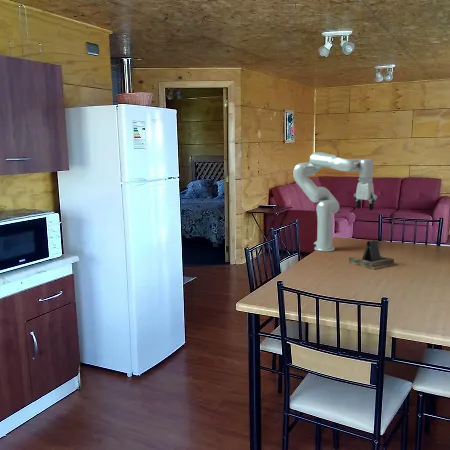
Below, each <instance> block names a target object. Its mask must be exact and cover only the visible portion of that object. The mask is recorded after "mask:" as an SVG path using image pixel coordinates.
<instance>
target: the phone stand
mask: <svg viewBox="0 0 450 450" xmlns="http://www.w3.org/2000/svg"><path fill="white" fill-rule="evenodd" d="M380 256H381V253H380V249H379V242H378V240H377V239H372V240H367V242H366V247H365V250H364V252H363V255H362V258H361V259H362V260H366V261H370V262H373V261H378V260H381V257H380Z"/></svg>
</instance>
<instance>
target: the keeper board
mask: <svg viewBox="0 0 450 450" xmlns="http://www.w3.org/2000/svg"><path fill="white" fill-rule="evenodd" d="M380 257H381V260H378V261H373V262H370V261H366V260H362V258H357V257H354V256H351V257H348V263H349V264H352V265H356V266H360V267H363V268H367V269H369V270H378V269H383V268H387V267H392V266H396V265H397V263H396V262H395V259H394V258H392V257H388V256H384V255H380Z"/></svg>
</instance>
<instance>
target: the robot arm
mask: <svg viewBox="0 0 450 450" xmlns="http://www.w3.org/2000/svg"><path fill="white" fill-rule="evenodd" d="M323 168H326V169H327V168H328V169H332V170H336V171H340V172H344V173H345V172H347V173H351V172H359V178H358V183H357V185H356V190H355V191H356V192H355V193H353V198H354V200H355V202H356V208H355V209H361V208H362V202H361V201H368V202H369V203H368V210H369V211H373V210H374V206H375V205H374V204H375V202H376V201H377V199H378V195H376V194H375V192H374V187H375V186H374V183H373V177H374V175H373V173H374V161H373V159H371V158H365V159H363V158H343V157H339V156H338V157H337V155H336V154H331V153H330V154H329V153H327V152H323V151H321V152H320V151H319V152H313V153H312V154H311V155H310V156H309V162H300V163H297V164H296V165H295V166H294V168H293V171H292V174H293V175H292V176H293V179H294V181H295V182H296V185H298V187H299V188H300V189H301V190H302V192H303V193H304V194H305V195H306V197H307V198H308V200H310V201H311V202H312V203H317V205H316V208H315V209H316V216H317V217H316V219H317V228H316V229H317V232H316V234H317V235H316V240H315V242H313V245H315V246H314V250H315V251H317V252H333V251H335V250H336V249H335V247H334V246H333V226H334V223H333V216H332V215H334V214H337V212H339V210H340V203H339V201H338V199H336V198H335V196H334V195H333V193H331V192H330V190H329V189H328V188H326V187H325V186H317V185H316V184H315V183H314V181H313V180H312V179H311V178H310V177H308V176H313V175H315V174H317V172H319V171H320V170H321V169H323Z"/></svg>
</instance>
